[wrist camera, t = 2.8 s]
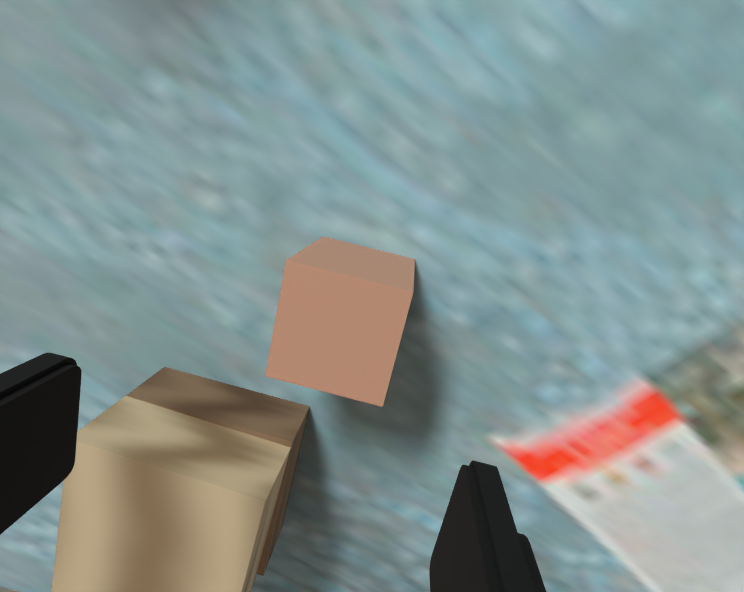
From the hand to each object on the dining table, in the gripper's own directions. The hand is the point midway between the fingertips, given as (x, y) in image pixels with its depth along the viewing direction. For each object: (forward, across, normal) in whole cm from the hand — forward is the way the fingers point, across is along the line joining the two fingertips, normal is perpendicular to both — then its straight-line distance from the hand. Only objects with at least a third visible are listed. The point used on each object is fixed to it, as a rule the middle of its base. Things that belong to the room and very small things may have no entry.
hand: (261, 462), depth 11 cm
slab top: (+11, +6, +12) cm, 17 cm away
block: (+15, 0, -1) cm, 15 cm away
